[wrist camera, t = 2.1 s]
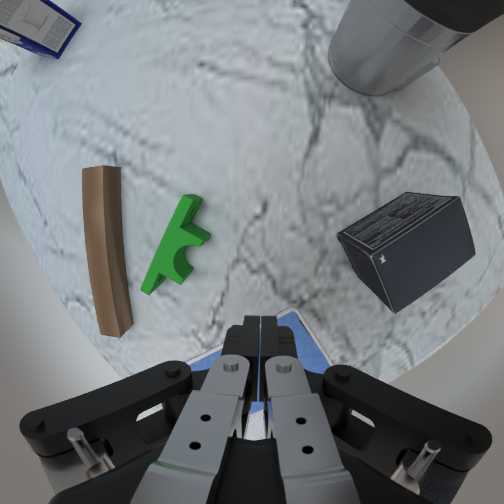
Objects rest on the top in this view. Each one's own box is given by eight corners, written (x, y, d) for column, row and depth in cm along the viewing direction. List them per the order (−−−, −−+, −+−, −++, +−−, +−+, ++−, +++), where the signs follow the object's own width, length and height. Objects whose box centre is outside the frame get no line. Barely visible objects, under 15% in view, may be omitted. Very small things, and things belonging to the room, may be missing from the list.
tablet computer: (294, 301, 33) (295, 305, 31) (338, 370, 35) (340, 376, 33) (171, 365, 36) (168, 371, 34) (223, 421, 38) (222, 426, 36)
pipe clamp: (181, 292, 33) (169, 308, 28) (155, 277, 33) (139, 290, 28) (224, 209, 30) (216, 213, 26) (194, 193, 30) (182, 194, 26)
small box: (358, 281, 31) (393, 319, 21) (334, 233, 30) (366, 254, 20) (426, 237, 30) (479, 257, 19) (407, 189, 29) (460, 192, 18)
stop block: (120, 167, 30) (102, 165, 26) (133, 323, 34) (120, 337, 30) (100, 169, 30) (82, 168, 26) (114, 321, 34) (100, 334, 30)
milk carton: (82, 23, 25) (5, -29, 5) (59, 59, 26) (-30, 19, 7) (59, 21, 24) (-13, -20, 5) (38, 55, 26) (-43, 23, 6)
